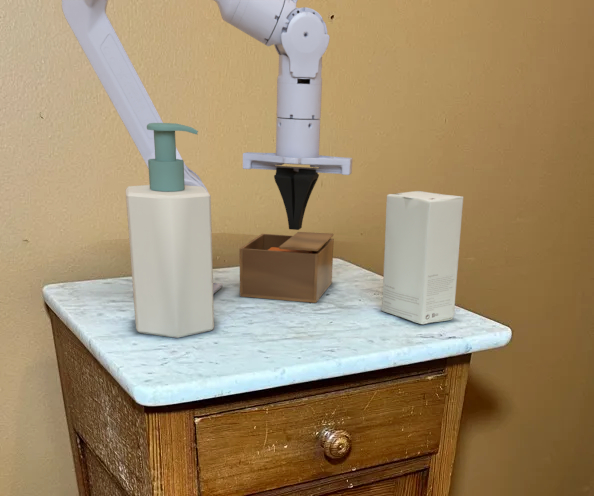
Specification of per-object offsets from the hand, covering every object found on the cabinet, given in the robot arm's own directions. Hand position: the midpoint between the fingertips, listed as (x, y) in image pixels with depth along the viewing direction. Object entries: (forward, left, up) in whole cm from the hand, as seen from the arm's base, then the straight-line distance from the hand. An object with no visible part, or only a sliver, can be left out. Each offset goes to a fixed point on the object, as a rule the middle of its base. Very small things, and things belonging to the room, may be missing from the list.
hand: (295, 228), depth 107 cm
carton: (-1, 0, -8) cm, 8 cm away
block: (-1, 0, -8) cm, 8 cm away
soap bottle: (-10, -22, -9) cm, 26 cm away
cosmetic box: (+18, -8, -9) cm, 22 cm away
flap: (+2, 0, -2) cm, 2 cm away
